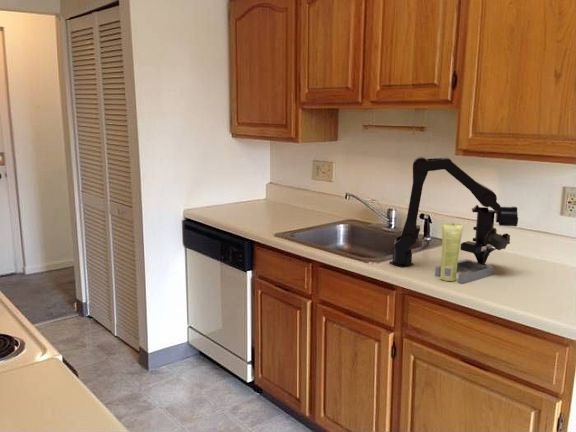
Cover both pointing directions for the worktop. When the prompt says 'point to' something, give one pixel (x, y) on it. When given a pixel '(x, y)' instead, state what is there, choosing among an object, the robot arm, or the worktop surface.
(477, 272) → the u collar
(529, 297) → the worktop surface
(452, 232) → the tube
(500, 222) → the robot arm
